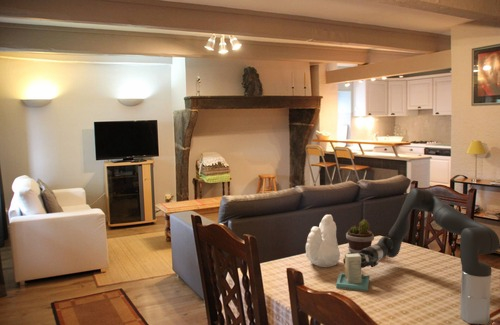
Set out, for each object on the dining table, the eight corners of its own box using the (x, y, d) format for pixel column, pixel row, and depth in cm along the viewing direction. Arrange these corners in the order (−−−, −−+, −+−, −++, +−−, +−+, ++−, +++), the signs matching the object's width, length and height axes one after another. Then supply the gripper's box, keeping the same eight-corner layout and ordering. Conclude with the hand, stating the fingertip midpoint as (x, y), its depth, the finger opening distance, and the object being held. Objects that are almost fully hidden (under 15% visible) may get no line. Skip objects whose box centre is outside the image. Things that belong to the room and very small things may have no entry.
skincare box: (358, 279, 187) (359, 253, 186) (361, 283, 182) (362, 256, 181) (344, 280, 186) (344, 253, 185) (347, 284, 182) (347, 256, 181)
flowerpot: (340, 250, 231) (340, 214, 230) (364, 247, 236) (365, 212, 234) (354, 258, 218) (354, 220, 216) (379, 255, 222) (380, 218, 220)
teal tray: (367, 291, 176) (367, 286, 176) (336, 288, 180) (336, 283, 180) (369, 280, 188) (369, 275, 188) (339, 277, 192) (339, 272, 192)
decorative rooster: (322, 256, 222) (322, 210, 219) (347, 264, 210) (347, 215, 207) (289, 267, 206) (289, 217, 203) (314, 276, 194) (314, 223, 191)
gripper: (357, 243, 199) (338, 251, 188) (386, 250, 189) (367, 258, 178) (357, 259, 200) (338, 267, 189) (385, 266, 190) (367, 275, 178)
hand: (352, 263), depth 183 cm, fingers open, 8 cm apart
